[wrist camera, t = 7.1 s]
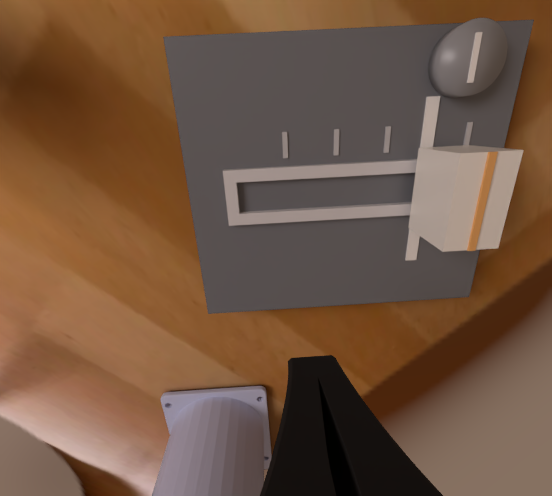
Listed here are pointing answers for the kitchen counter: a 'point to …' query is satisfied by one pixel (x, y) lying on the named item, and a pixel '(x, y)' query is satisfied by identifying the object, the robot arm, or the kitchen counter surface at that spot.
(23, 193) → the kitchen counter surface
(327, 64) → the console
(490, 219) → the fader cap
